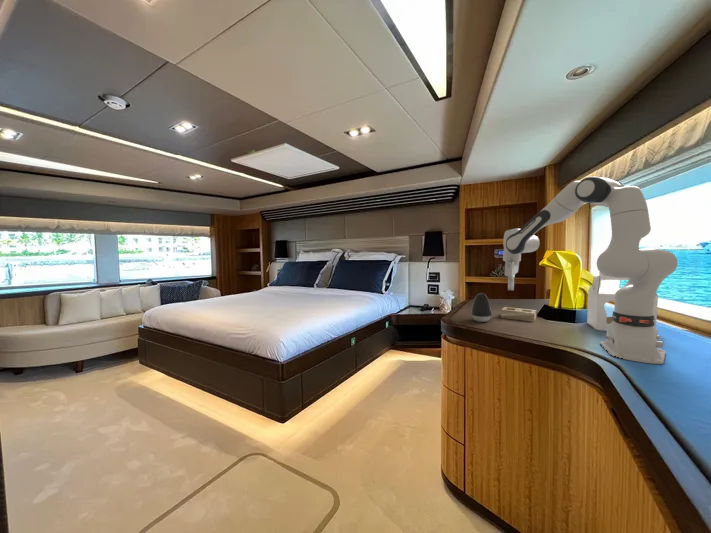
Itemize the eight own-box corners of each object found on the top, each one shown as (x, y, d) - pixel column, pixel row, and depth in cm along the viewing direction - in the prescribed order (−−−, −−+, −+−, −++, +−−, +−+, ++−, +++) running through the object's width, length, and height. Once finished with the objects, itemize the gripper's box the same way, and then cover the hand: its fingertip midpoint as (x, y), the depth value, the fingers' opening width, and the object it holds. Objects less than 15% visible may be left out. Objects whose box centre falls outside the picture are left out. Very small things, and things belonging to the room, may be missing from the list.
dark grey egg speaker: (471, 322, 160) (472, 294, 159) (470, 318, 170) (470, 291, 169) (492, 323, 157) (493, 295, 156) (490, 319, 167) (490, 291, 166)
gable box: (642, 326, 147) (645, 269, 144) (656, 334, 134) (660, 272, 132) (586, 323, 155) (588, 268, 153) (595, 330, 143) (597, 271, 141)
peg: (513, 290, 167) (513, 272, 166) (507, 290, 169) (507, 272, 168) (514, 289, 169) (514, 272, 168) (508, 289, 171) (508, 271, 170)
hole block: (534, 321, 159) (534, 313, 159) (501, 317, 169) (501, 309, 168) (536, 318, 166) (536, 310, 166) (504, 314, 176) (504, 306, 176)
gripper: (514, 259, 157) (514, 285, 158) (521, 257, 173) (520, 280, 175) (501, 259, 161) (501, 284, 162) (509, 256, 177) (508, 280, 178)
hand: (511, 282), depth 169 cm, fingers closed on peg, 3 cm apart
